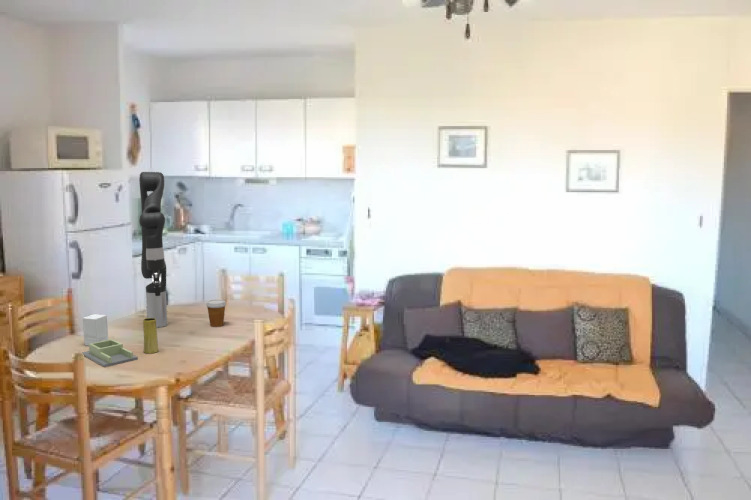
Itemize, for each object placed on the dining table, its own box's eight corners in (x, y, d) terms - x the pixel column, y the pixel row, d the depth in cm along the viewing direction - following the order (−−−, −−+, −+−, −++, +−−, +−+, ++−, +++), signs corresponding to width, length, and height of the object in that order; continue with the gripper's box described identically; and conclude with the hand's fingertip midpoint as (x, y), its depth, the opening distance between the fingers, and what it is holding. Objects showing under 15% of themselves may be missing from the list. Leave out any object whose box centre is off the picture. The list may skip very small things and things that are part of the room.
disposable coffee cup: (202, 326, 324) (202, 302, 322) (214, 321, 332) (213, 298, 330) (219, 328, 320) (218, 304, 318) (230, 323, 329) (229, 300, 327)
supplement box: (109, 342, 297) (107, 315, 295) (97, 347, 290) (95, 319, 288) (95, 340, 299) (94, 313, 297) (83, 345, 292) (82, 317, 290)
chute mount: (81, 354, 279) (81, 343, 279) (114, 347, 289) (113, 336, 288) (104, 367, 264) (103, 355, 263) (137, 359, 274) (137, 347, 273)
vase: (145, 349, 287) (144, 317, 285) (160, 349, 288) (158, 317, 286) (141, 353, 281) (140, 321, 279) (156, 353, 282) (155, 321, 280)
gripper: (147, 256, 296) (149, 291, 298) (145, 260, 283) (148, 297, 285) (164, 255, 298) (167, 290, 300) (163, 259, 285) (166, 296, 287)
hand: (158, 294), depth 293 cm, fingers open, 8 cm apart
